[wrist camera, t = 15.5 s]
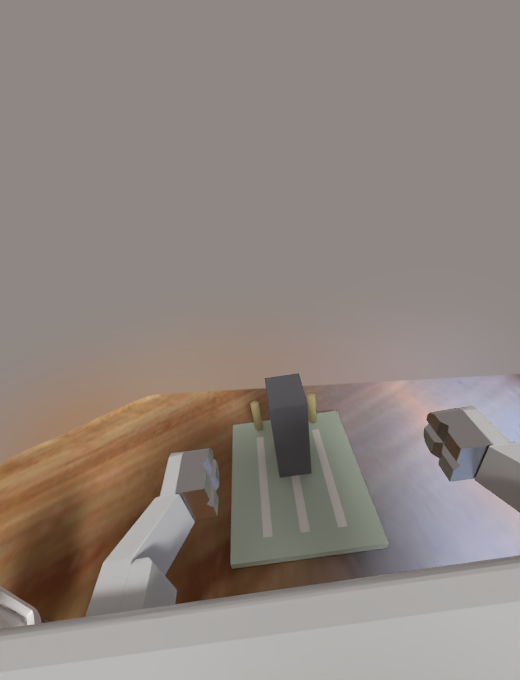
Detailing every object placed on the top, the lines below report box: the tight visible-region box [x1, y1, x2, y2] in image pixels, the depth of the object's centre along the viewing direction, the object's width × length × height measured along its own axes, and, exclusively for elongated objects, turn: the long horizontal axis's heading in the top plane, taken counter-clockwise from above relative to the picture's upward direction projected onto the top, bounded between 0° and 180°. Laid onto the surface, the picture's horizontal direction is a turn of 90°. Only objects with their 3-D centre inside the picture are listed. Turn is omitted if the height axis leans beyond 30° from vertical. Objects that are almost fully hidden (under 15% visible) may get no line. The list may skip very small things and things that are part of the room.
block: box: [265, 374, 312, 478], centre depth 35 cm, size 4×5×12 cm
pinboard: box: [230, 393, 389, 569], centre depth 36 cm, size 16×18×6 cm
